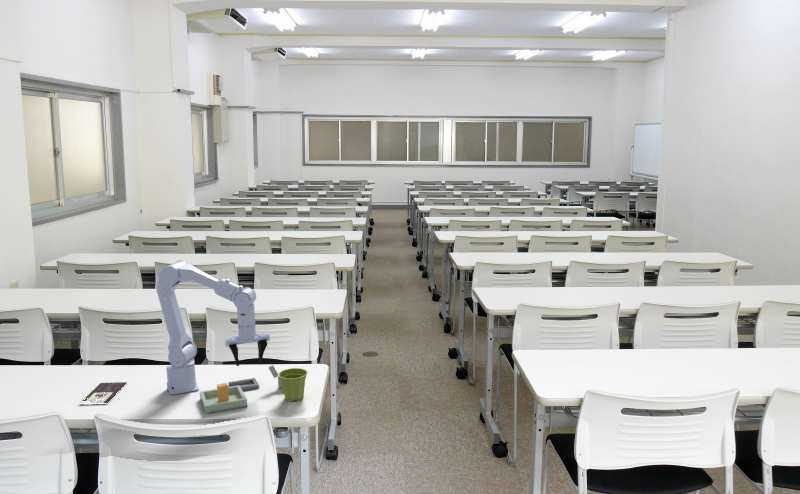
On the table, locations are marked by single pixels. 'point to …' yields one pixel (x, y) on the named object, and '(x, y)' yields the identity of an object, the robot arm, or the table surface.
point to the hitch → (246, 381)
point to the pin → (222, 392)
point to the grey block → (275, 375)
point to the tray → (213, 405)
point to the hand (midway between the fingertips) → (248, 363)
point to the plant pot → (293, 383)
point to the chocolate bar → (109, 391)
